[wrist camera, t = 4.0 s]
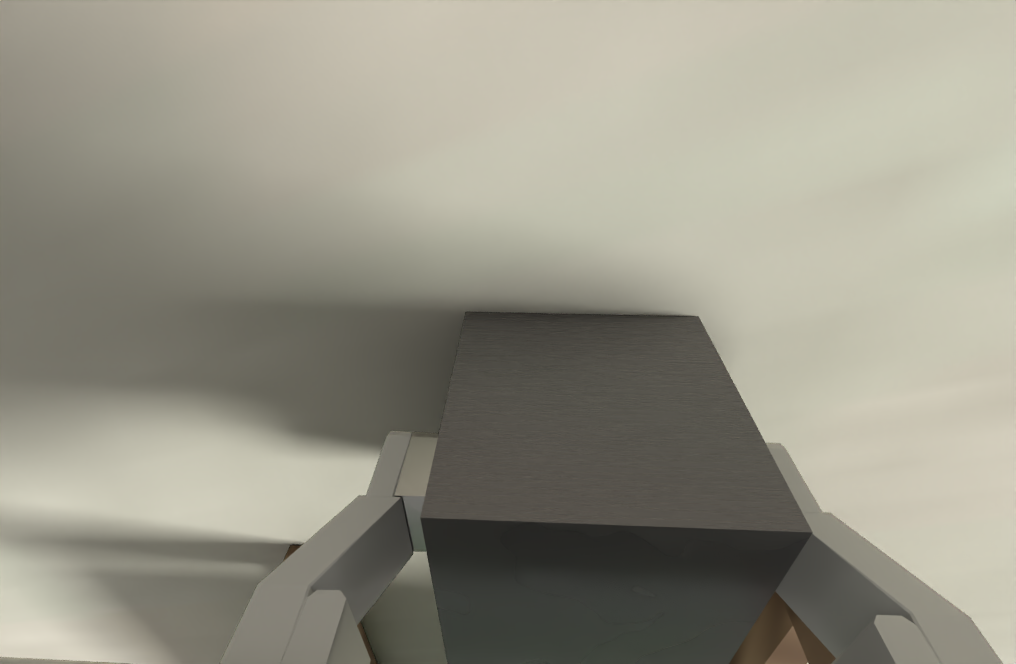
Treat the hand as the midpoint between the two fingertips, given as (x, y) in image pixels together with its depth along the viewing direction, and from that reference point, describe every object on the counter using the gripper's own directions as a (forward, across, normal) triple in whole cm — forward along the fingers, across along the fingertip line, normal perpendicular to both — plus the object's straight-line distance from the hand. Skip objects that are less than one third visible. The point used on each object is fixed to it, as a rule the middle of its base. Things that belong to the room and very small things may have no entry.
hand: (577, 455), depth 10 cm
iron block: (+2, 0, 0) cm, 2 cm away
